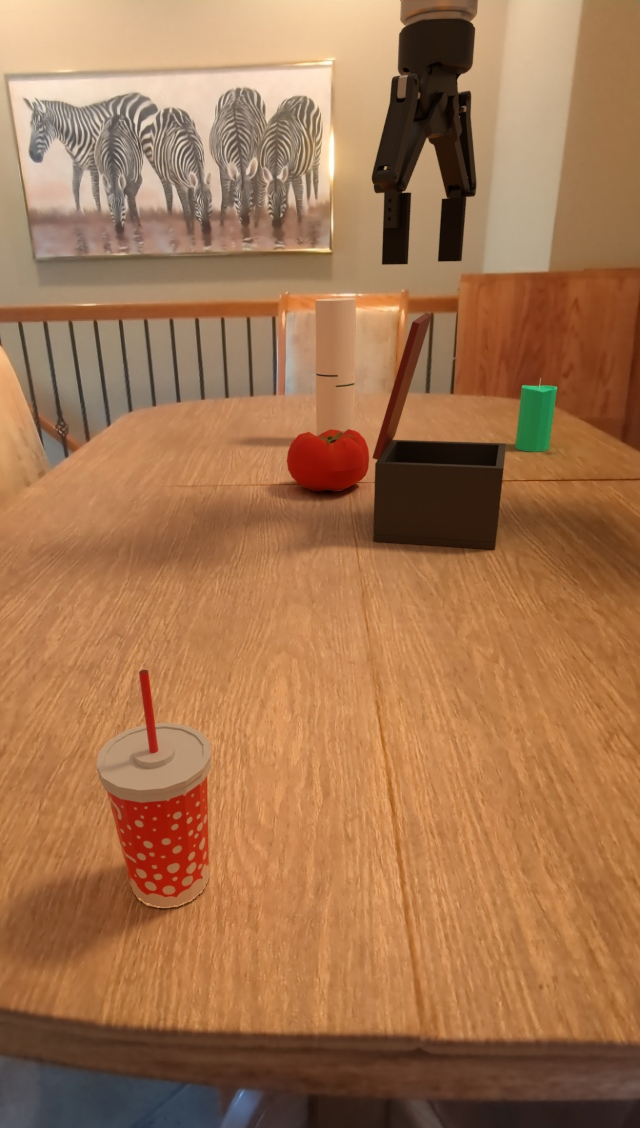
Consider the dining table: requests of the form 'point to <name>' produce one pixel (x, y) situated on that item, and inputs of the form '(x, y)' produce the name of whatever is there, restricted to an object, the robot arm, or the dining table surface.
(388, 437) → the box lid
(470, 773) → the dining table surface
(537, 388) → the candle
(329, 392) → the cylindrical container
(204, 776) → the beverage cup
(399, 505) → the open box
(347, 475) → the tomato
